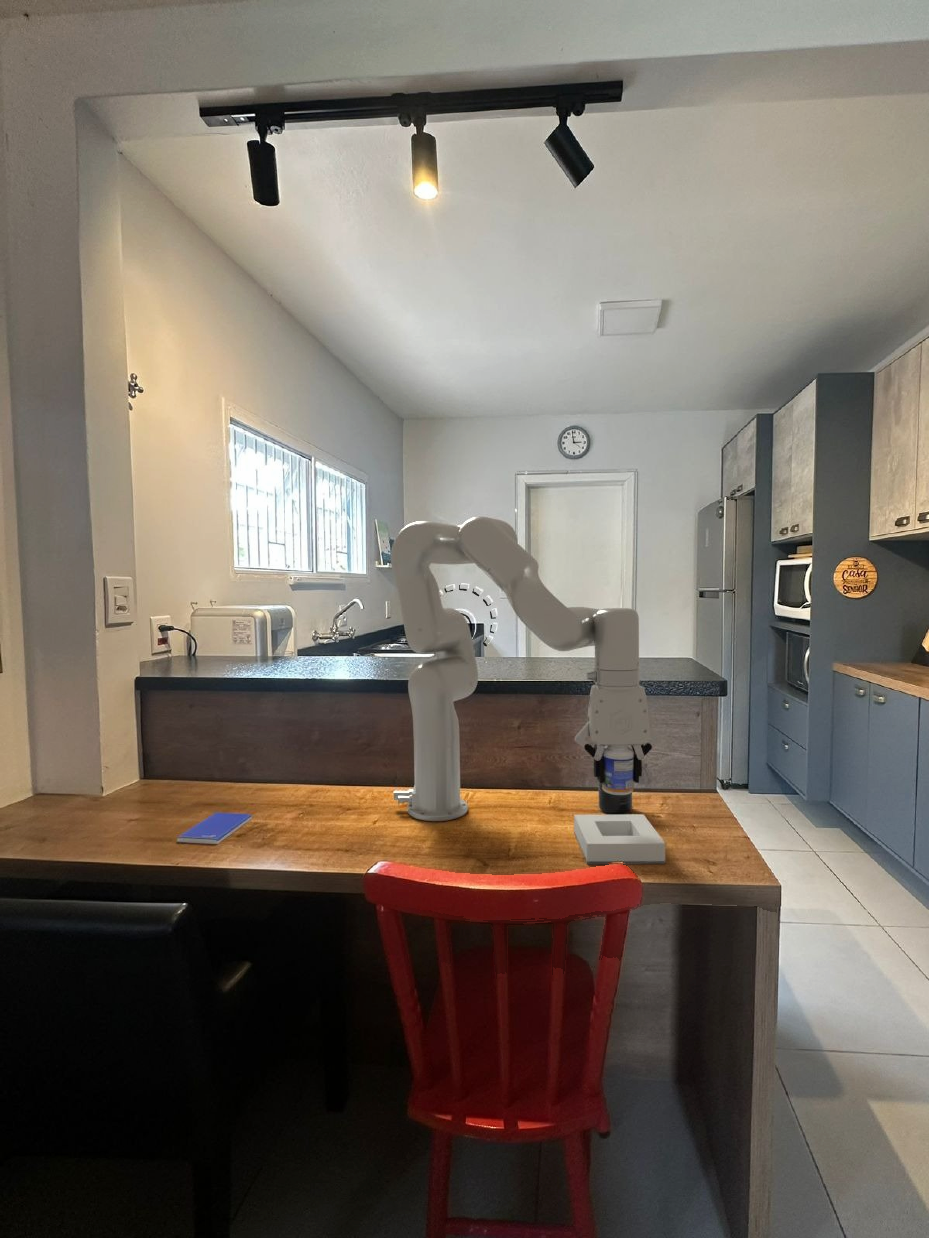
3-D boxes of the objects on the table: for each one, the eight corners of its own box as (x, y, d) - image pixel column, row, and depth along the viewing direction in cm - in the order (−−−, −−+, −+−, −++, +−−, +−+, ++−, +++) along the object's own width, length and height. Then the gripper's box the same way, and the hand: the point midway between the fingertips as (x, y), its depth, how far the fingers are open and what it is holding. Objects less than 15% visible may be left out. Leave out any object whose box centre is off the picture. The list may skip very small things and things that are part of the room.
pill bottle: (598, 786, 109) (597, 733, 109) (627, 785, 110) (627, 731, 109) (607, 796, 104) (607, 740, 103) (638, 795, 104) (638, 739, 104)
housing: (587, 864, 101) (587, 843, 101) (574, 832, 114) (574, 814, 114) (665, 863, 101) (665, 843, 101) (643, 832, 114) (643, 814, 114)
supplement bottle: (629, 804, 129) (629, 748, 128) (635, 816, 122) (635, 757, 121) (596, 803, 130) (596, 748, 129) (600, 815, 123) (600, 757, 122)
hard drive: (217, 838, 111) (251, 813, 123) (177, 836, 112) (214, 811, 125) (217, 846, 111) (251, 821, 123) (177, 844, 112) (214, 819, 125)
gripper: (571, 682, 102) (572, 788, 103) (673, 681, 102) (673, 786, 103) (564, 676, 110) (565, 774, 111) (659, 674, 110) (659, 773, 110)
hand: (617, 779), depth 107 cm, fingers closed on pill bottle, 5 cm apart
